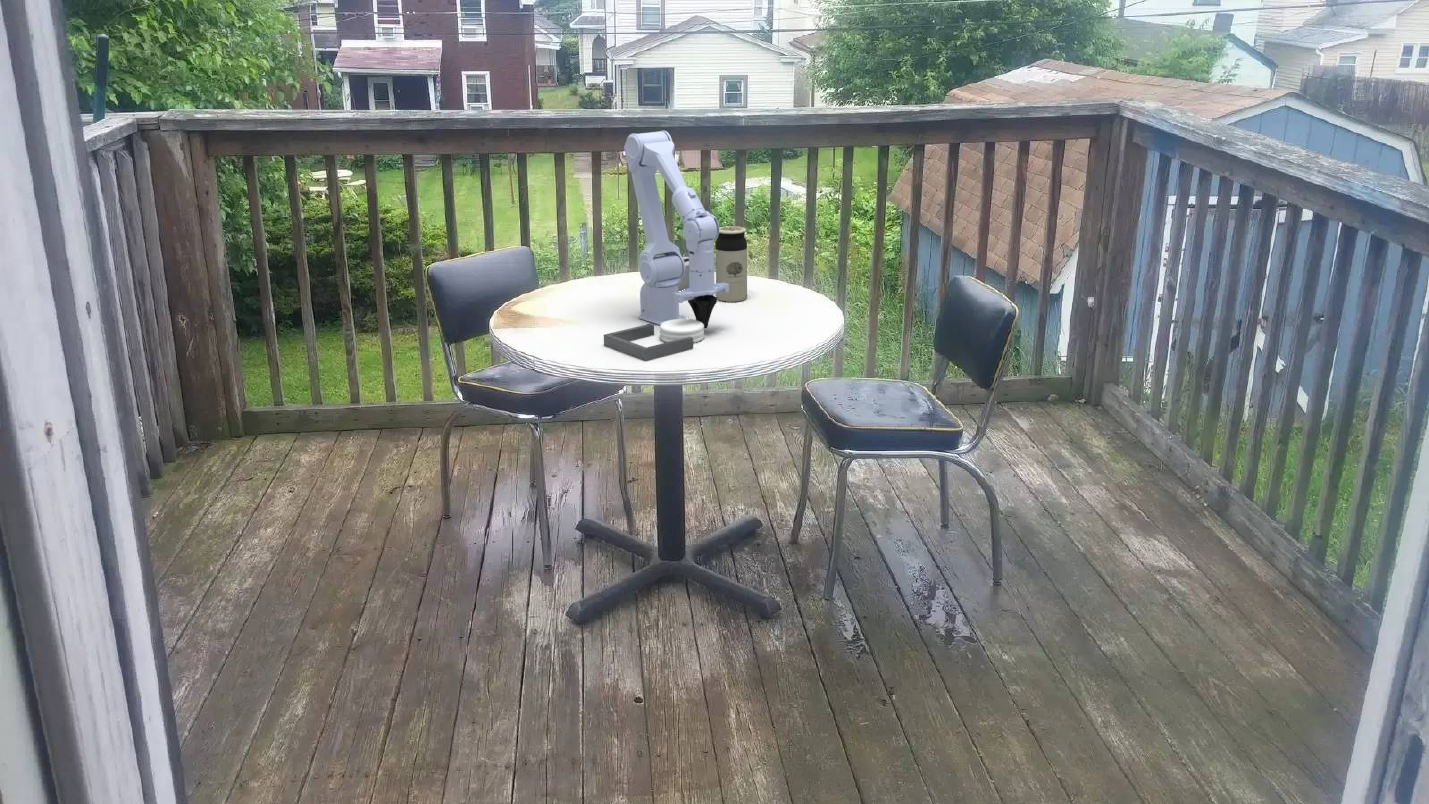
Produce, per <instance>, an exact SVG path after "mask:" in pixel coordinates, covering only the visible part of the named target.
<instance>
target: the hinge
mask: <svg viewBox="0 0 1429 804" xmlns="http://www.w3.org/2000/svg"><path fill="white" fill-rule="evenodd" d="M682 258H683V260H684V262H685V266H686V270H685V274H684V277H683V278H682V279H681V283H678V291H682V290H684V289H687V288H689V256H683V257H682Z"/></svg>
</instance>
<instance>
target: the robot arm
mask: <svg viewBox="0 0 1429 804" xmlns="http://www.w3.org/2000/svg"><path fill="white" fill-rule="evenodd" d="M623 150H624V153H625V158H626V162H627V167H628V171H629V172H630V173H631V179H632V183H633V187H634V193H635V196H636V197H635V198H636V200H637V201H636V203H637V206H638V211H639V214H640V218H641V224H642V229H643V233H644V236H645V243H646V246H645V247H644V249H643V250H642V251H641V252H640V254H639V255H638V258H639V273H640V274H639V275H640V277H641V280H642V281H643V282H644V283H643V284H642V285H641V287H640V292H639V298H640V300H639V302H640V303H639V304H640V315H637V318H638V319H640V320H643V321H647V322H650V323H651V324H655V325H658V326H660V325H661V324H662V323H663V322H665V321H668V320H674V319H688V318H687V317H686V316H683V315H681V314H680V304H683V303H684V302H688V304H689V306H690V307H691V309H692V311H693V314H694V317H695V320H697V321H700V322H702V323H703V324H704V330H705V329H708V326H709V321H710V318H711V315H712V312H713V309H714V308H715V306H716V304H717V302H718V299H717V297H716V296H714V295H716V294H718V293H722V292H725V293H726V292H729V284H727V283H717V284H716V283H715V241H716V240H717V238H718V235H719V228H720V223H719V222H718V219H717V217H716V216H715V215H714V214H711V213H710V212H709V211H708V210H705V208H704V205H703V204H702V202H701V200H700V198H699V196H698V194H697V192H696V190H695V189H694V188H693V187H689V186H688V185H687V184H686V181H685V180H684V177H683V175H682V172H681V170H680V168H679V165H678V162H677V160H676V158H675V156H674V154H675V143H674V142H673V138H672V136H671V135H670V133H669V132H668V131H667V130H663V129H662V130H660V131H651V132H642V133H631V134H629V135H628V136H627V137H626V141H625V143H624V147H623ZM657 172H659V174H660V175H661V177H662V179H664V181H665V183H666V184H667V186H668V188H669V190H670V191H671V193H672V197H671V203H672V205H673V207H674V209H675V210H676V213H677V214H678V216H679V218H680V220H681V222H682V223H683V228H682V236H683V238H684V241H685V243H686V244H685V245H686V246H685V247H686V250H687V251H688V257H689V288H687V289H685V290H683V291H681V292H679V291H678V283H681V279H682V278H683V277H684V274H685V270H686V266H685V262H684V260H683V258H682V254H681V250H680V247H679V246H677V245H676V244H675V243H674V242H671V240H670V238H669V235H668V230H667V225H666V221H665V217H664V213H663V207H662V203H661V199H660V192H659V188H658V185H657V180H656V173H657Z"/></svg>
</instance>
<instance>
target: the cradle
mask: <svg viewBox="0 0 1429 804" xmlns="http://www.w3.org/2000/svg"><path fill="white" fill-rule="evenodd" d="M654 324H655V323H648V324H642V325H639V326H634V327H631V328H626V329H622V330H618V331H613V332H610V333H605V334H603V345H604V346H605V347H608V348H610V349H612V350H615V351H617V352H620V353H623V354H626V355H629V356H631V357H633V358H636V359H639V360H642V361H644V362H647V361H652V360H654V359H659V358H662V357H667V356H671V355H675V354H678V352H679V353H681V352H680V351H682V352H685V351H689V349H690V350H693V349H694V343H693V338H692V337H686V338H682V339H678V340H674V341H670V342H664V343H659V344H654V345H651V346H643V345H640V344H638V343H635V342H632V341H635V340H640V339H644V338H648V337H652V336H651V335H653V336H655V325H654Z"/></svg>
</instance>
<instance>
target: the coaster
mask: <svg viewBox="0 0 1429 804" xmlns="http://www.w3.org/2000/svg"><path fill="white" fill-rule="evenodd" d="M659 329H660V330H659V334H660V336H659V339H660V340H661V341H662V342H664V343H666V342H670V341H674V340H678V339H682V338H686V337H692V338H693V344H697V343H699V341H700V342H701V341H703V340H704V339H705V334H704V333H705V329H704V324H703V323H702V322H700V321H697V320H696V319H691V318H687V319H674V320H668V321H665V322H663V323H662V324H661V325H659Z"/></svg>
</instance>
